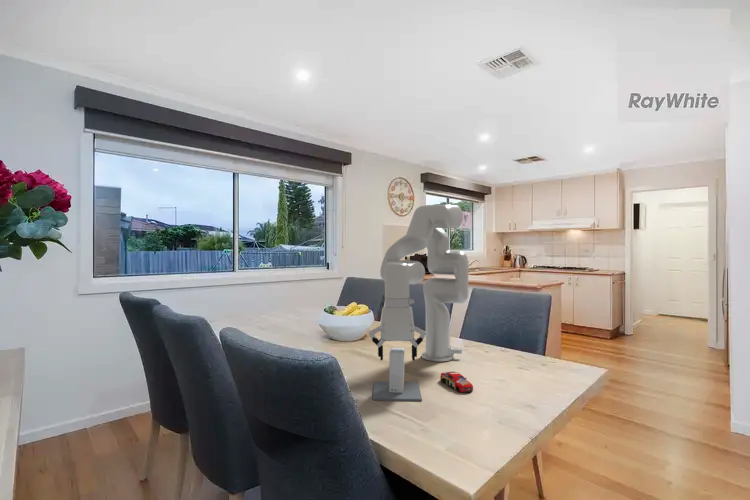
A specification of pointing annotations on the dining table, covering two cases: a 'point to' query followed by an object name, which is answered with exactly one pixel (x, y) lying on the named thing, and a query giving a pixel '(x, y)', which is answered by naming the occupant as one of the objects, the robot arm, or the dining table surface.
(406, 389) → the mat
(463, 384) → the race car
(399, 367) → the skincare box
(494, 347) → the dining table surface
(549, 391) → the dining table surface
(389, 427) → the dining table surface
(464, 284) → the robot arm
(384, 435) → the dining table surface
